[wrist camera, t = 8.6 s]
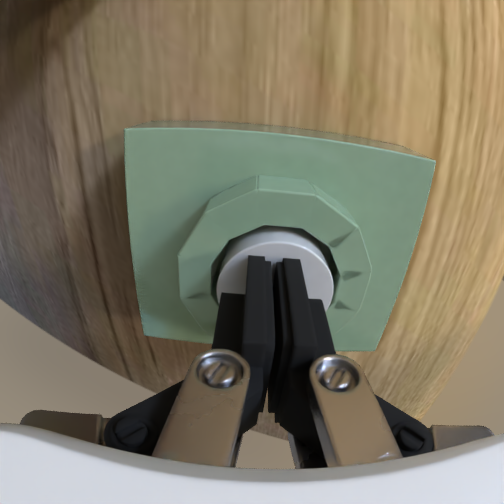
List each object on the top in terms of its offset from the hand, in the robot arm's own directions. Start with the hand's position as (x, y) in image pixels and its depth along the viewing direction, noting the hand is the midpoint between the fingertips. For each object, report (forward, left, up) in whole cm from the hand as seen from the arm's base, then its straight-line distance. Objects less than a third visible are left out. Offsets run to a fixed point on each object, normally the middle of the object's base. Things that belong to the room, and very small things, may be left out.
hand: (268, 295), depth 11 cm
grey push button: (0, 0, -2) cm, 2 cm away
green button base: (0, 0, -6) cm, 6 cm away
